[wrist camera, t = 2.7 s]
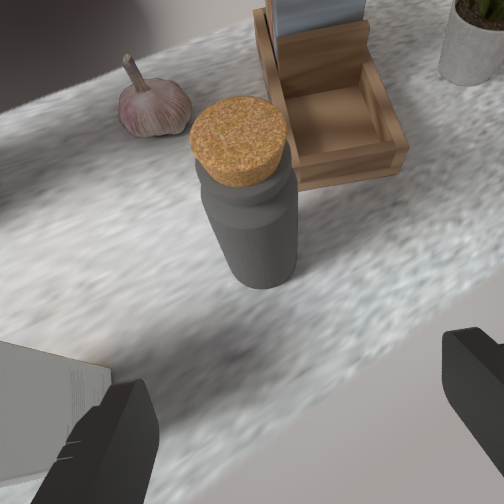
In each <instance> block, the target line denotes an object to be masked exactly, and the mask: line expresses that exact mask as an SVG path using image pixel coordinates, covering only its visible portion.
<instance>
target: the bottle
mask: <svg viewBox="0 0 504 504" xmlns="http://www.w3.org/2000/svg"><path fill="white" fill-rule="evenodd" d="M286 138H287V124H286V120H285V118H284V116H283V114H282V113H281V112H280V110H279V109H278V108H277V107H276V106H274V105H273V104H271V103H270V102H268V101H266V100H264V99H261V98H257V97H253V96H237V97H230V98H226V99H223V100H221V101H218V102H216V103H214V104H212V105H211V106H209V107H208V108H206V109H205V110H204V111H203V112H202V113H201V114H200V115H199V116H198V117H197V119H196V120H195V122H194V124H193V125H192V128H191V132H190V146H191V149H192V151H193V153H194V155H195V157H196V159H195V166H196V172H197V175H198V178H199V180H200V183H201V199H202V203H203V206H204V208H205V211H206V213H207V216H208V219H209V221H210V223H211V226H212V228H213V230H214V233H215V235H216V237H217V240H218V242H219V244H220V246H221V249H222V251H223V253H224V256H225V258H226V260H227V262H228V265H229V267H230V269H231V271H232V273H233V274H234V276H235V277H236V278H237V279H238V280H239V281H240V282H241V283H243V284H244V285H246V286H248V287H251V288H255V289H269V288H273V287H276V286H278V285H280V284H281V283H283V282H284V281H285V280H286V279H288V278H289V276H290V275H291V274H292V272H293V270H294V268H295V265H296V259H297V233H298V183H297V177H296V174H295V172H294V169H293V168H292V155H291V148H290V145H289V143H288V141H287V139H286Z"/></svg>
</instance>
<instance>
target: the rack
mask: <svg viewBox="0 0 504 504" xmlns="http://www.w3.org/2000/svg"><path fill="white" fill-rule="evenodd" d="M365 3H366V0H265V4H266V7H265V8H260V9H256V10H253V16H254V26H255V35H256V43H257V48H258V52H259V57H260V61H261V66H262V70H263V75H264V79H265V84H266V89H267V93H268V98H269V102H270V103H271V104H273V105H274V106H276V107H277V108H278V109H279V110H280V112H281V113H282V114H283V116H284V118H285V120H286V124H287V138H286V139H287V141H288V143H289V145H290V148H291V155H292V168H293V169H294V172H295V174H296V177H297V183H298V192H299V191H305V190H310V189H316V188H322V187H327V186H333V185H339V184H344V183H350V182H356V181H361V180H367V179H373V178H378V177H384V176H389V175H395V174H398V172H399V170H400V168H401V165H402V163H403V161H404V158H405V156H406V154H407V151H408V149H409V145H408V143H407V140H406V138H405V136H404V133H403V131H402V129H401V126H400V124H399V121H398V119H397V117H396V114H395V112H394V110H393V107H392V105H391V103H390V100H389V98H388V96H387V93H386V91H385V89H384V86H383V84H382V81H381V79H380V77H379V74H378V72H377V70H376V67H375V65H374V63H373V60H372V58H371V56H370V53H369V51H368V49H367V46H366V45H367V40H368V35H369V30H370V25H369V23H368V21H367V20H363V14H364V8H365Z"/></svg>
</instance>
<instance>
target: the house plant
mask: <svg viewBox="0 0 504 504" xmlns="http://www.w3.org/2000/svg"><path fill="white" fill-rule="evenodd" d="M503 60H504V0H453V3H452V7H451V11H450V16H449V20H448V25H447V29H446V34H445V38H444V43H443V47H442V52H441V56H440V61H439V65H438V69H439V72H440V74H441V76H442V77H444V78H445V79H446V80H448V81H450V82H452V83H454V84H456V85H460V86H475V85H479V84H481V83H484V82H485V81H486V80H488V79H489V78H490V76H491V75H492V74H493V73H494V71H495V70H496V69H497V68H498V67H499V65H500V64H501V63H502V62H503Z"/></svg>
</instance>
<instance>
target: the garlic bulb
mask: <svg viewBox="0 0 504 504" xmlns="http://www.w3.org/2000/svg"><path fill="white" fill-rule="evenodd" d="M123 67H124V68H125V70H126V72H127V73H128V75H129V77H130V79H131V81H132V82H133V84H132V85H131V86H129V87H127V88H126V89H124V90H123V92H122V93H121V95H120V100H119V110H118V117H119V120H120V122H121V123H122V125H123V126H124V127H125V128H127V130H128V131H129V132H130V133H131V134H133V135H134V136H137V137H141V138H146V137H150V136H153V135H159V136H160V135H164V134H178V133H180V132H182V131H183V130H184V128H185V126H186V123H187V122H188V121H189V119H190V117H191V114H192V105H191V102H190V99H189V98H188V96H187V95H186V94H185V93H184V92H183V91H182V90H181V88H180V87H179V85H178V84H176V83H175V82H174V81H166V80H163V79H160V78H154V79H143V77H142V75H141V73H140V72H139V70H138V68H137V66H136V64H135V62H134V60H133V58H132V57H131V55H128V54H126V55H125V56H124V58H123Z"/></svg>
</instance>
